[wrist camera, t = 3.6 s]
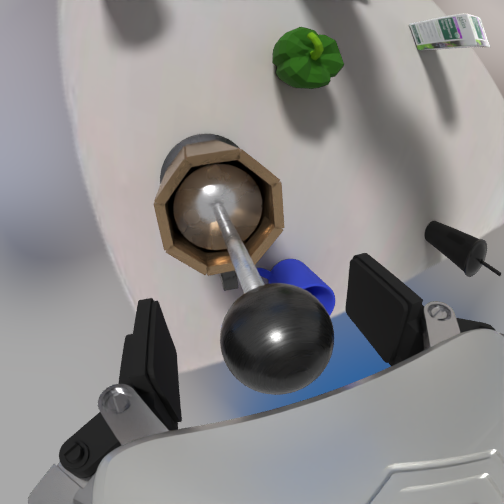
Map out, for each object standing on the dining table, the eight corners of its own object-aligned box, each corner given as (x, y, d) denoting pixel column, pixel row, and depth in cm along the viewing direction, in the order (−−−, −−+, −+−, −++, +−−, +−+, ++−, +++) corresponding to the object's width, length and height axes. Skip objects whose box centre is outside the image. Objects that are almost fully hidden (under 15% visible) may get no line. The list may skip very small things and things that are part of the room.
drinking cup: (416, 248, 53) (484, 297, 35) (424, 214, 49) (499, 256, 32) (437, 246, 54) (500, 289, 37) (445, 214, 51) (514, 253, 34)
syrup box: (407, 23, 32) (465, 12, 19) (426, 24, 32) (481, 17, 19) (417, 50, 34) (477, 45, 22) (434, 50, 34) (491, 47, 22)
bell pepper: (325, 87, 35) (364, 81, 26) (273, 97, 35) (302, 89, 26) (310, 37, 31) (345, 18, 22) (257, 44, 31) (281, 21, 22)
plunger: (256, 157, 23) (420, 245, 7) (263, 238, 27) (375, 401, 10) (166, 172, 22) (126, 309, 6) (182, 254, 25) (202, 453, 9)
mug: (253, 238, 43) (273, 270, 34) (316, 260, 47) (345, 291, 39) (233, 283, 46) (246, 322, 37) (295, 299, 50) (317, 335, 41)
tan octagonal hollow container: (243, 128, 36) (289, 131, 20) (253, 224, 42) (297, 286, 27) (154, 142, 34) (131, 155, 18) (172, 239, 40) (170, 313, 25)
